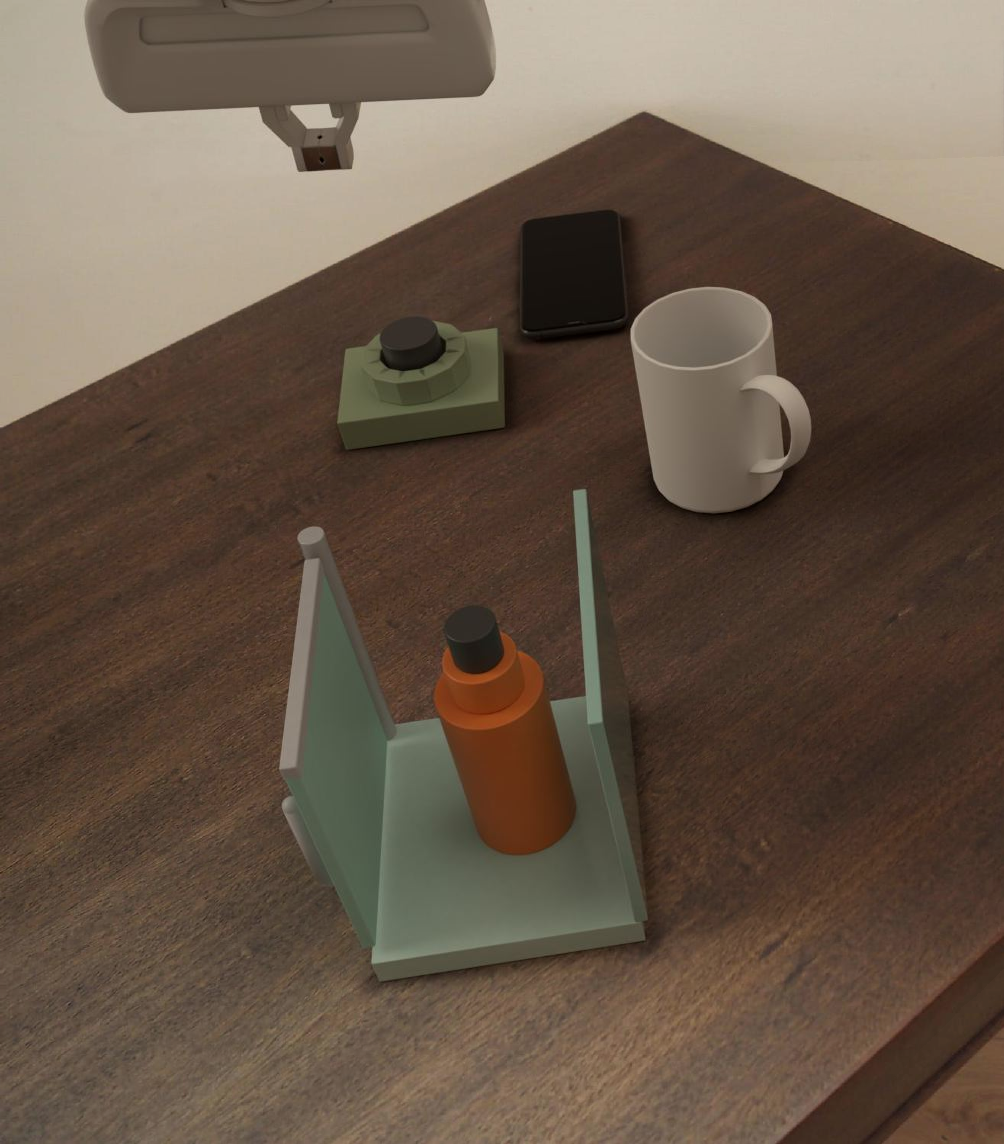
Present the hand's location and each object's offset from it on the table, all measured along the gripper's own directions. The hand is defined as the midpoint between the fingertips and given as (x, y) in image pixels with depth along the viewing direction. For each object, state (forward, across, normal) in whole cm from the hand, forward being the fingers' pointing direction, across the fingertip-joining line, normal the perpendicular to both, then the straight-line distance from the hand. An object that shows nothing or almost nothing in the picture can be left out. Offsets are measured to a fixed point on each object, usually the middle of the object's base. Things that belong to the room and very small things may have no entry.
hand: (326, 165), depth 87 cm
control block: (+18, -2, -1) cm, 18 cm away
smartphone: (+19, -12, -13) cm, 26 cm away
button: (+15, -2, -1) cm, 15 cm away
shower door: (+13, -3, +36) cm, 38 cm away
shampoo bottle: (+13, -10, +35) cm, 39 cm away
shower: (+15, -9, +35) cm, 39 cm away
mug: (+16, -22, +11) cm, 30 cm away
